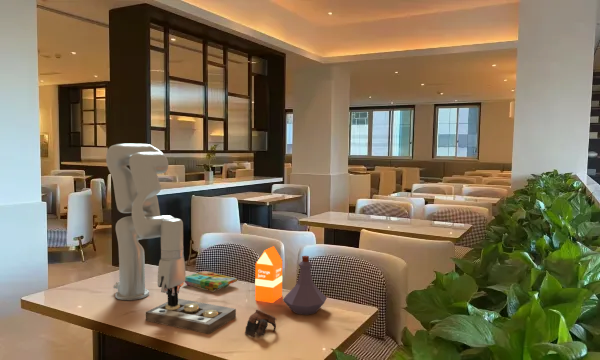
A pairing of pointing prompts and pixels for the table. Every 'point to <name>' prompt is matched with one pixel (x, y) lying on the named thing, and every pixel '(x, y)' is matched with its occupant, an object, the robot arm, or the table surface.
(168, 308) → the button
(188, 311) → the button middle
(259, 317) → the brown goggles
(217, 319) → the button board
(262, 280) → the orange juice
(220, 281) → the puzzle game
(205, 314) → the button
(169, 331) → the table surface
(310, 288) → the flask
